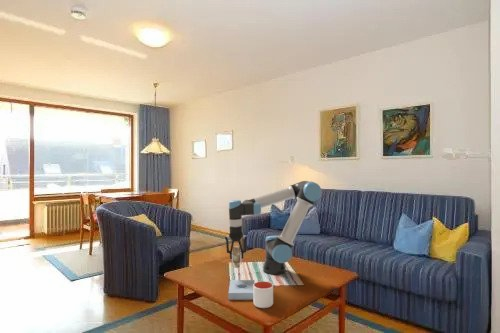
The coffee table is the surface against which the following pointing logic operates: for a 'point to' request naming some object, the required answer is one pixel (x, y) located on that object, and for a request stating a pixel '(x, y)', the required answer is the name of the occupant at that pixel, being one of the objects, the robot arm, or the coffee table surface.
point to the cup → (263, 294)
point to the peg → (236, 256)
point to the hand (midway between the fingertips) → (236, 263)
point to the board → (241, 290)
